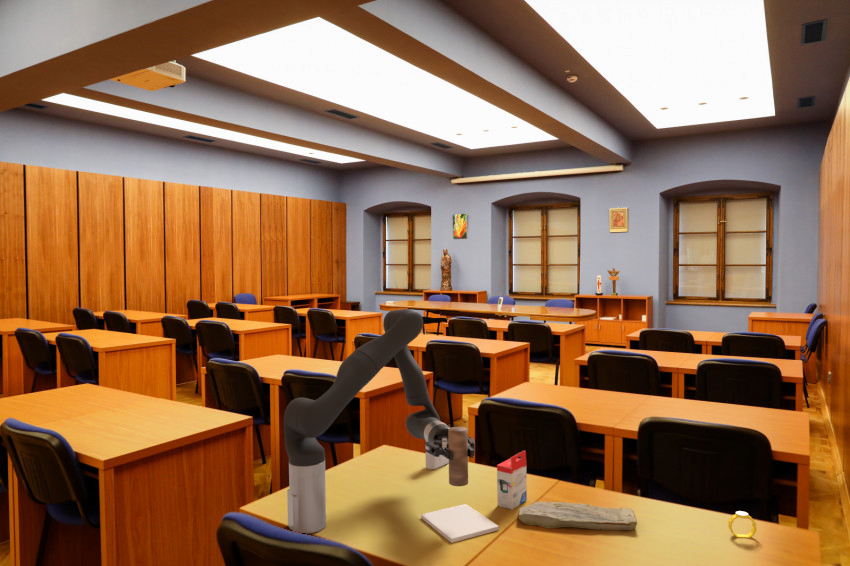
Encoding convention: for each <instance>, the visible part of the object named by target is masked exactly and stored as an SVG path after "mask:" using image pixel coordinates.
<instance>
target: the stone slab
mask: <svg viewBox="0 0 850 566" xmlns="http://www.w3.org/2000/svg"><path fill="white" fill-rule="evenodd" d="M635 514H636V513H635V511H634V509H633V508H628V507H618V508H615V507H614V508H613V507H604V506H603V507H602V506H597V505H590V504H589V503H578V502H576V503H572V502H563V501H559V502H558V501H557V502H556V501H555V502H553V501H535V502H532V503H531V504H529V505H527V506H521V507H520V508H519V509H518V515H517V516H518V517H517V518H518V519H519V521H520V522H522V523H523V525H528V526H538V527H541V528H546V529H557V528H558V529H559V528H569V527H570V528H571V527H572V528H575V529H576V528H577V529H578V528H579V529H588V530H600V529H601V531H607V530H608V531H622V530H624V531H626V530H627V531H632V530H633V529H634V528H636V526H637V524H638V520H637V517H636V515H635Z"/></svg>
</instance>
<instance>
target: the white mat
mask: <svg viewBox="0 0 850 566" xmlns="http://www.w3.org/2000/svg"><path fill="white" fill-rule="evenodd" d="M420 519H422V520H423V521H424V522H425V523H426V524H427V525H429V526H430V527H432V528H433V529H434V530H435V531H436V532H437V533H438V534H440V535H441V536H442V537H443V538H444V539H446V540H447V541H448V542H449V543H451V544H452V543H456V542H457V543H458V542H460V541H464V540H468V539H471V538H475V537H479V536H482V535H486V534H489V533H493V532H497V531H499V530H500V527H499V525H498V524H497V523H495V522H494V521H492V520H490V519H489V518H487V517H486V516H485V515H483V514H482V513H480V512H479V511H477V510H475V509H474V508H472V507H471V505H470V506H469V505H468V504H466V503H464V504H460V505H455V506H451V507H450V506H449V507H446V508H442V509H438V510H434V511H429V512H426V513H421V514H420Z"/></svg>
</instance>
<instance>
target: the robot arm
mask: <svg viewBox="0 0 850 566" xmlns="http://www.w3.org/2000/svg"><path fill="white" fill-rule="evenodd" d="M423 325H424V319H423V316H422V314H421V313H420V312H419V311H417V310H416V309H413V308H412V309H410V308H405V309H404V308H403V309H393V310H390V311H388V312H387V313H386V314H385V316H384V318H383V330H384V333H382V334H381V335H380V336H378V337H377V336H376V337H375V338H373V339H371V340H370V341H367V342H366V343H363V344H362V345H361V346H359V347H357V348H356V349H355V350H353V352H352V353H350V354H349V355H348V356H347V358H345V359H344V360H343V361H342V362H341V364H340V365H339V368H338V370H337V373H336V377H335V379H334V382H333V384H332V385H331V386H330V387H329V389H328V390H327V391H325V392H324V393H323V394H322V395H321V396H320V397H318V398H317V399H315V400H314V399H311V398H307V397H296V398H294V399H292V400H291V401H290V402H289V403H288V405H287V406H286V409H284V410H285V411H284V415H283V432H284V447H285V450H286V454H287V456H288V476H289V477H288V478H289V479H288V480H289V481H288V482H289V483H288V484H289V485H288V487H289V488H288V489H287V490H286V492H287V493H286V494H287V497H286V498H287V499H286V500H287V502H286V503H287V527H288V528H289V529H290V530H293V531H297V532H300V533H306V534H307V535H308V534H312V533H313V534H314V533H317V532H320V531H322V530H323V529H324V528H325V527H326V526H327V505H326V504H327V501H326V500H327V499H326V496H327V494H326V491H327V489H326V488H327V487H326V451H325V448H324V446H323V445H322V444H320V443H319V441H318V440H317V437H319V436H322V435H323V434H324V433H326V431H327V430H328V429H329V428H330V426H331V425H332V424H333V423H334V422H335V421H336V419H337V418H338V416H340V414H341V413H342V411H343V410H345V408H346V406H348V404H349V403H350V402H351V401H353V399H354V398H355V397H356V396H357V395H358V394H359V393H360V391H362V390H363V388H364V387H365V386H367V385H368V384H369V383H370V382H371V381H372V380H373V379H374V378H375V377H376V376H377V374H378V373H380V371H381V370H382V369H383V368H384V367H385V366H386V365H387V364H388V363H390V361H391V360H392V359H393V358H394V359H395V362H396V365H397V368H398V371H399V374H400V376H401V381H402V385H403V389H404V390H403V391H404V394H405V400H406V402H407V404H408V405H409V406H411V407H424V409H422V410H419V411H415V412H413V413H410V414H408V416H407V417H406V419H405V428H406V429H407V432H408V433H409V434H410V435H411V436H412V437H414V438H416V439H418V440H420V439H421V440H425V442H424V443H425V445H424V446H425V447H424V448H425V453H426V452H427V453H429V454H431V455H433V456H435V457H439V455H442V457H446V458H447V459H449V460H450V461H451V460H453V452H452V451H451V450H450V449H449V440H448V429H449V428H451V427H450V426H449V425H447V424H446V423H445V422H442V421H441V418H440V416H439V413H438V412H437V410H436V408H435V406H434V405H433V403H432V400H431V398H430V395H429V391H428V387H427V386H428V385H427V382H426V378H425V374H424V373H423V370H422V369H421V367H420V366H419V364H418V363H417V361H416V360H415V357H414V356H413V355H412V352H411V350H410V348H409V344H410V343H412V342H413V341H414V340H415V339H416V338H417V337H419V335H420V333H421V332H422V329H423V327H424V326H423ZM426 441H427V442H426ZM475 453H476V442H475V440H474V438H473V437H472V436H468V458H470V459H474V456H475ZM300 533H299V534H300Z"/></svg>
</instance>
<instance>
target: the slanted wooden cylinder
mask: <svg viewBox="0 0 850 566" xmlns="http://www.w3.org/2000/svg"><path fill="white" fill-rule="evenodd" d="M468 431H469V430H468V428H467V427H464V426H452V427H450V428H449V429H448V440H449V449H450V450H451V451H452V452H453V460H451V461H450V460H449V463H448V484H449V485H450V486H453V487H464V486H467V485H468V484H469V457H468V437H469V435H468V433H469V432H468Z"/></svg>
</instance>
